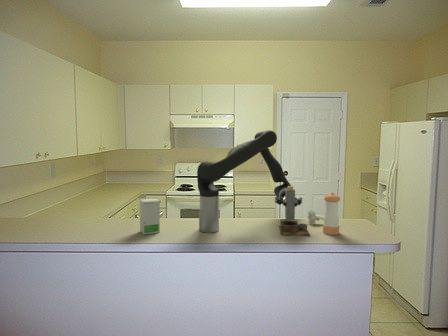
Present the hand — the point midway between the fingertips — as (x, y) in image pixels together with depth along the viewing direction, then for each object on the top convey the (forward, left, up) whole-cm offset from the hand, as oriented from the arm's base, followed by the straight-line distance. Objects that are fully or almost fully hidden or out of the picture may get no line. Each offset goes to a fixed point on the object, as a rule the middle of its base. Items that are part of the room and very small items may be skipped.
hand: (290, 204), depth 148 cm
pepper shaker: (+19, +3, -14) cm, 24 cm away
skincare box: (-67, -3, -14) cm, 68 cm away
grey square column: (0, +3, -7) cm, 8 cm away
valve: (+17, +17, -14) cm, 28 cm away
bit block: (+2, +3, -14) cm, 14 cm away
